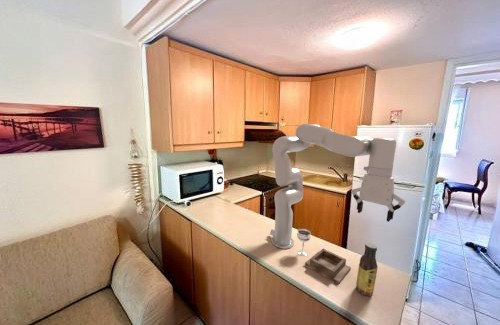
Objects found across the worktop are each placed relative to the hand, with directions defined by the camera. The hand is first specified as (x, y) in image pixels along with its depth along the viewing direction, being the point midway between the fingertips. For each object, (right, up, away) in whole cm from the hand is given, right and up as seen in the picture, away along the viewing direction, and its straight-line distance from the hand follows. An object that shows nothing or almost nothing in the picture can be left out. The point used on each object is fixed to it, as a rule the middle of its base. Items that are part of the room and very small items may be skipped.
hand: (373, 216), depth 76 cm
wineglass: (-19, -27, +29) cm, 44 cm away
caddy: (-10, -29, +18) cm, 36 cm away
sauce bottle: (0, -32, +6) cm, 32 cm away
